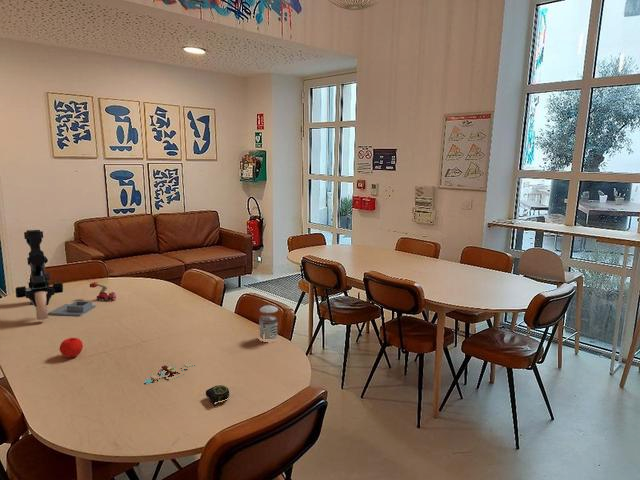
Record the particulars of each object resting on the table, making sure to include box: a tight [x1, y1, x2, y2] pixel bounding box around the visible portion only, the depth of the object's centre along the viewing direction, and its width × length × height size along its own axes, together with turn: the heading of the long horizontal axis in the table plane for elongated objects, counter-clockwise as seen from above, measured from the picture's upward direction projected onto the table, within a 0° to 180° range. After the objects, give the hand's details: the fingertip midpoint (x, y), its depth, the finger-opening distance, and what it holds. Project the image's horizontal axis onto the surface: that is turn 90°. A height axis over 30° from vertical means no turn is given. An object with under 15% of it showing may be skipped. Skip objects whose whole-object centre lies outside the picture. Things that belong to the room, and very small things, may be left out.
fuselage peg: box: [35, 291, 49, 321], centre depth 201 cm, size 4×4×12 cm
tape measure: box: [205, 384, 230, 405], centre depth 142 cm, size 7×7×4 cm
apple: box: [58, 337, 84, 358], centre depth 169 cm, size 8×8×7 cm
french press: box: [258, 284, 279, 339], centre depth 190 cm, size 10×12×25 cm
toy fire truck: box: [89, 281, 117, 302], centre depth 237 cm, size 3×14×10 cm, turn 84°
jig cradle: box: [48, 300, 96, 317], centre depth 219 cm, size 16×14×4 cm
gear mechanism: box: [144, 362, 191, 384], centre depth 158 cm, size 20×5×9 cm
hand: (41, 305), depth 200 cm, fingers closed on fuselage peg, 4 cm apart
